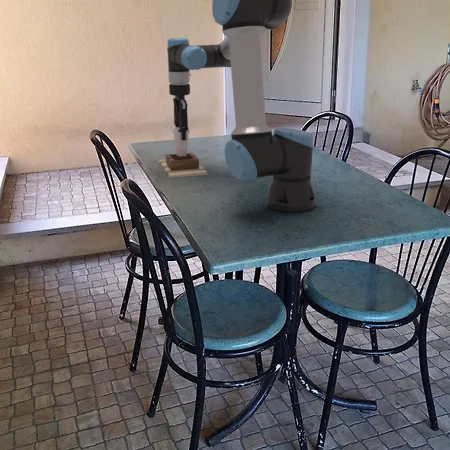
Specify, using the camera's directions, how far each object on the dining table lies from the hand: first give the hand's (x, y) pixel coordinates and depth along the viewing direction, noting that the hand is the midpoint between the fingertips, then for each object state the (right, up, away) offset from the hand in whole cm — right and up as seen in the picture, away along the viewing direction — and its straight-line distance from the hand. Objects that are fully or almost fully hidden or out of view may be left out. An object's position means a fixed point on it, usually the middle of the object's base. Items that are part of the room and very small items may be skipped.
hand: (181, 146), depth 198 cm
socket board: (0, -8, +3) cm, 9 cm away
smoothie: (0, -3, +1) cm, 4 cm away
